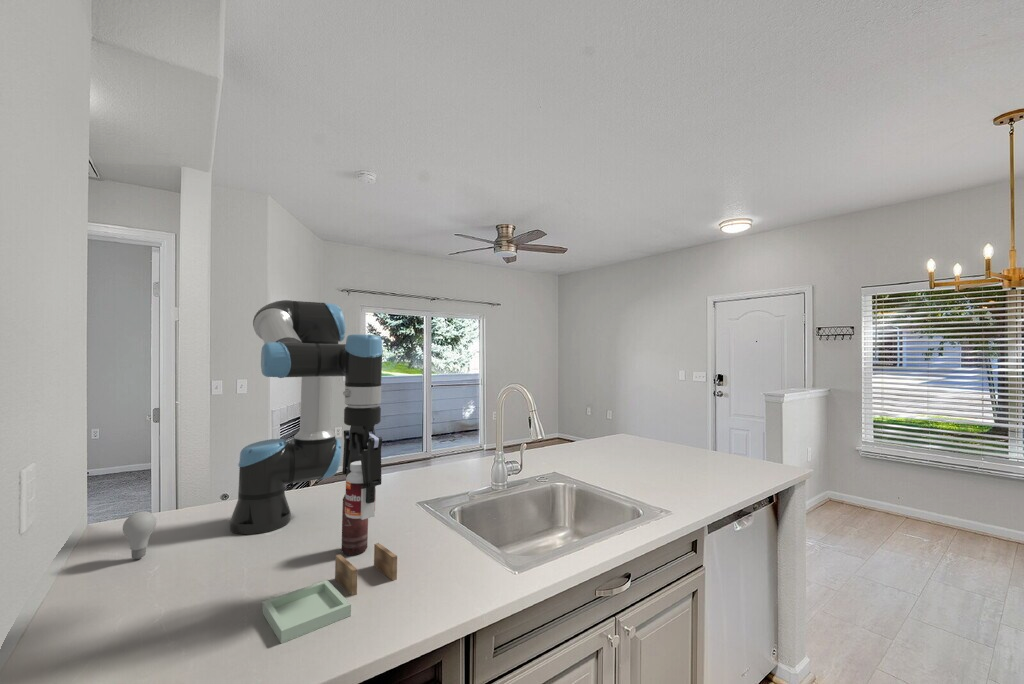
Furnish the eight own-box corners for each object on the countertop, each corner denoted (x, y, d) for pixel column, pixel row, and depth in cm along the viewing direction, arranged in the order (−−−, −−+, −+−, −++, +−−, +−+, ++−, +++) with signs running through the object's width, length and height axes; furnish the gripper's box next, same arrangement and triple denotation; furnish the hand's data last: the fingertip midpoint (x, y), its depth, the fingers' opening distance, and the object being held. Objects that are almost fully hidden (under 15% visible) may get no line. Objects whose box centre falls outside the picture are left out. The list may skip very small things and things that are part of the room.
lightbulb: (114, 562, 102) (116, 514, 102) (144, 551, 108) (146, 506, 108) (131, 567, 100) (133, 518, 100) (161, 555, 105) (162, 509, 106)
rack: (334, 578, 96) (335, 555, 96) (377, 564, 103) (378, 542, 103) (352, 595, 89) (352, 570, 89) (396, 579, 96) (397, 556, 96)
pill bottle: (338, 517, 93) (339, 464, 93) (358, 507, 98) (359, 458, 99) (362, 521, 90) (363, 467, 91) (381, 511, 96) (382, 461, 97)
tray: (262, 612, 83) (262, 601, 83) (326, 590, 91) (327, 579, 91) (281, 643, 74) (281, 631, 74) (350, 615, 82) (351, 604, 82)
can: (359, 557, 106) (361, 499, 106) (336, 554, 107) (337, 496, 108) (372, 546, 112) (374, 491, 112) (350, 544, 113) (351, 489, 114)
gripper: (328, 402, 99) (325, 505, 99) (366, 411, 86) (363, 531, 85) (359, 400, 105) (357, 498, 104) (400, 408, 91) (398, 521, 90)
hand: (360, 513), depth 94 cm, fingers closed on pill bottle, 6 cm apart
